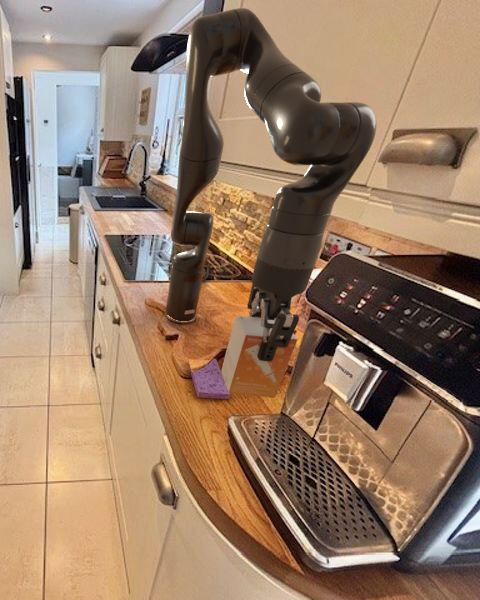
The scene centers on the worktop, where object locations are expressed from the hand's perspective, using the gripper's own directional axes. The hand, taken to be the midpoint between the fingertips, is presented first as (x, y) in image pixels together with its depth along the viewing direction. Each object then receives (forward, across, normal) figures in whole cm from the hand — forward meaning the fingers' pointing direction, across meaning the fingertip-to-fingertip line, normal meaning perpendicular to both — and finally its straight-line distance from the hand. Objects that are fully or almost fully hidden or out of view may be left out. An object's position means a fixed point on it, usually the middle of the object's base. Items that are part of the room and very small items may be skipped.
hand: (258, 346), depth 57 cm
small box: (+9, 0, 0) cm, 9 cm away
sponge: (+21, +14, +3) cm, 25 cm away
